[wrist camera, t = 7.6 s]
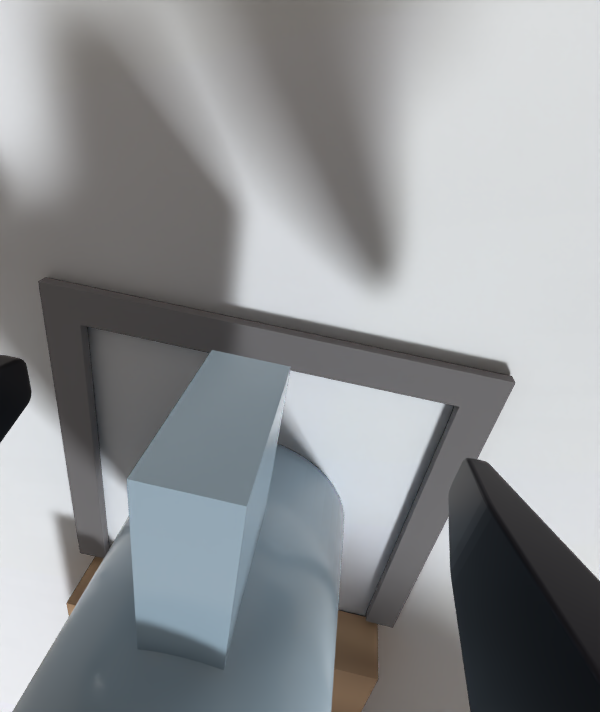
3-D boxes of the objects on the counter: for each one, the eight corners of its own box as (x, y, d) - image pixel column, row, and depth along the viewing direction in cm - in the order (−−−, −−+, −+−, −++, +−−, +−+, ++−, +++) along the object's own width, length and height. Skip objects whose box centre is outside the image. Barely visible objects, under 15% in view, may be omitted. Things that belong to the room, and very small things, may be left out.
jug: (324, 589, 16) (295, 877, 10) (153, 549, 16) (27, 806, 10) (405, 335, 11) (449, 631, 5) (148, 281, 11) (-126, 495, 5)
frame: (46, 277, 11) (38, 281, 11) (511, 376, 11) (515, 382, 10) (84, 545, 17) (80, 552, 17) (392, 619, 16) (392, 627, 16)
